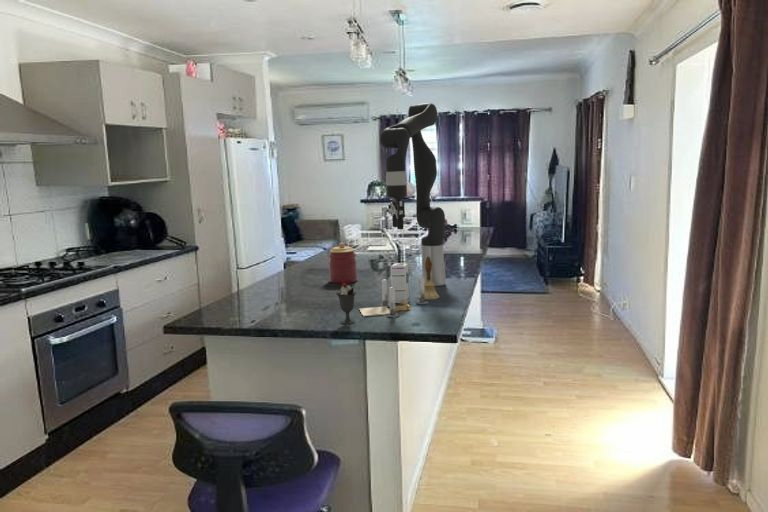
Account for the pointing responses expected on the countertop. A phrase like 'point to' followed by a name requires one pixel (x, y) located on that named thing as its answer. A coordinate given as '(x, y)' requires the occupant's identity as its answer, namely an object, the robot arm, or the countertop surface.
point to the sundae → (346, 301)
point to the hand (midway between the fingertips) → (397, 228)
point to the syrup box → (400, 282)
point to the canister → (342, 264)
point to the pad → (374, 311)
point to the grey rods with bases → (404, 303)
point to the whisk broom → (429, 282)
